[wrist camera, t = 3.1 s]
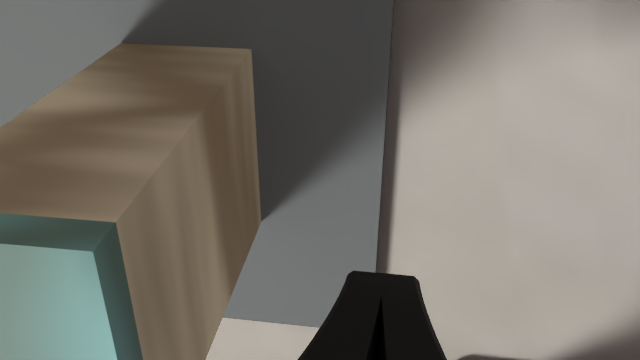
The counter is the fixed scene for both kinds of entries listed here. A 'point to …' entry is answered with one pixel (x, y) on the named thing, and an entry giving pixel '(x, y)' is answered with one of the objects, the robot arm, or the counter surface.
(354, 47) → the rubber mat
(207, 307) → the oak block
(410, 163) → the counter surface
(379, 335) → the robot arm
